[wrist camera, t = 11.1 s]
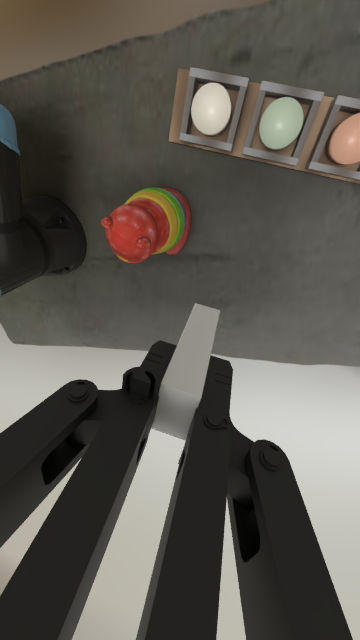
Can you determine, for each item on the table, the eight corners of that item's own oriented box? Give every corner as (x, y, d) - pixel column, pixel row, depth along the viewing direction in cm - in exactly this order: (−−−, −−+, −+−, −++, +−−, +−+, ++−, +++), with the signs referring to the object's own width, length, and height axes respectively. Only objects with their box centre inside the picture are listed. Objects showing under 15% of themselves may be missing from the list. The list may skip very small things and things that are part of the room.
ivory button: (192, 132, 35) (187, 129, 33) (200, 86, 33) (196, 78, 30) (225, 140, 35) (223, 137, 32) (236, 93, 32) (235, 86, 30)
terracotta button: (318, 160, 33) (324, 159, 31) (338, 113, 31) (346, 108, 28) (356, 168, 33) (365, 168, 30) (379, 121, 30) (391, 116, 28)
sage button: (253, 146, 34) (253, 144, 32) (267, 99, 32) (268, 93, 29) (289, 154, 34) (292, 152, 31) (306, 107, 31) (311, 101, 29)
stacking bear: (128, 224, 46) (70, 248, 31) (152, 170, 40) (96, 168, 26) (176, 258, 47) (142, 296, 32) (206, 210, 41) (182, 229, 27)
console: (170, 141, 38) (163, 138, 35) (180, 70, 34) (173, 60, 30) (371, 186, 35) (382, 187, 32) (410, 114, 30) (427, 108, 27)
